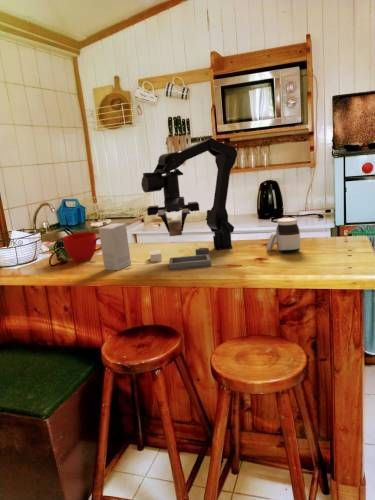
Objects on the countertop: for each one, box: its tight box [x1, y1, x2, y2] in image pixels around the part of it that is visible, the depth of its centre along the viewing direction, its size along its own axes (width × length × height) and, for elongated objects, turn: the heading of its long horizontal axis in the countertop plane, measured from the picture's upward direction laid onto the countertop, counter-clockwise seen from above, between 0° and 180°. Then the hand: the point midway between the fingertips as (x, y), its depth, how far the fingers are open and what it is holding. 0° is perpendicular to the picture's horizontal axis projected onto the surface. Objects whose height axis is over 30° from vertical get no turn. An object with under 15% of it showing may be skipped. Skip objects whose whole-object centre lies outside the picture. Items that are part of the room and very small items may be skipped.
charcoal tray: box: [168, 253, 212, 271], centre depth 140 cm, size 14×9×2 cm, turn 91°
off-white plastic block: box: [149, 249, 163, 263], centre depth 151 cm, size 4×6×3 cm, turn 7°
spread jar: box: [266, 217, 301, 255], centre depth 144 cm, size 12×11×12 cm
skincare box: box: [98, 222, 132, 271], centre depth 144 cm, size 8×7×16 cm
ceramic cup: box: [62, 231, 102, 263], centre depth 161 cm, size 13×17×10 cm
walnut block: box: [168, 219, 183, 237], centre depth 148 cm, size 4×4×5 cm
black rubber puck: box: [195, 247, 211, 258], centre depth 148 cm, size 5×5×3 cm
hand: (175, 231), depth 148 cm, fingers closed on walnut block, 4 cm apart
